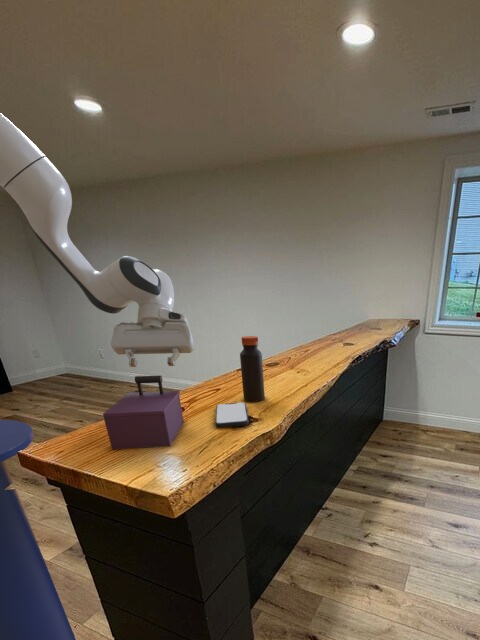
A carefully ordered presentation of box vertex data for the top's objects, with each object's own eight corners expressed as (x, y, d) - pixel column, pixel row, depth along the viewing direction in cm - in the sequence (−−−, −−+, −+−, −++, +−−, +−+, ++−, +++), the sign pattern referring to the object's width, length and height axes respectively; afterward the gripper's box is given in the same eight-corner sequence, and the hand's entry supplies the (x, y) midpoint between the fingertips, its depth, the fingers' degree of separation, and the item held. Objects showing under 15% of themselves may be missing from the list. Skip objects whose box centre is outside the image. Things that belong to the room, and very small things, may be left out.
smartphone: (249, 426, 93) (246, 406, 107) (249, 420, 92) (245, 401, 106) (215, 429, 91) (216, 408, 105) (214, 423, 90) (215, 403, 104)
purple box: (134, 424, 93) (128, 396, 90) (183, 422, 95) (179, 394, 92) (111, 449, 79) (103, 417, 76) (170, 446, 81) (164, 414, 78)
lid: (129, 395, 91) (124, 374, 88) (179, 393, 93) (176, 372, 90) (103, 417, 76) (97, 392, 74) (164, 414, 78) (160, 390, 76)
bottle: (268, 398, 116) (265, 336, 108) (256, 403, 110) (251, 339, 102) (252, 395, 119) (247, 335, 111) (239, 400, 113) (233, 337, 105)
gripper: (109, 315, 91) (103, 359, 86) (190, 314, 95) (189, 357, 90) (119, 330, 97) (114, 373, 92) (195, 329, 100) (194, 370, 95)
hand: (152, 365), depth 91 cm, fingers open, 8 cm apart
